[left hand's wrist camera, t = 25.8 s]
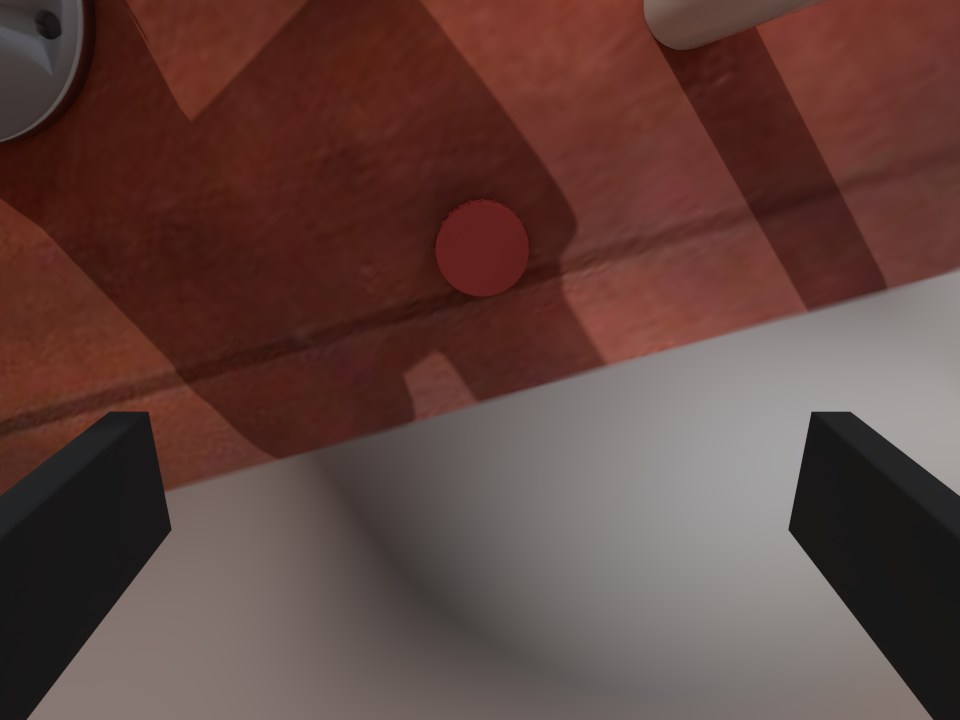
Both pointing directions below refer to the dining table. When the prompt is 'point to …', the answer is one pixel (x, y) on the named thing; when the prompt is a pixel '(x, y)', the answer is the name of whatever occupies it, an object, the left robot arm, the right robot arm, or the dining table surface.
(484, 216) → the lid
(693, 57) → the dining table surface
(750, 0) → the jar
